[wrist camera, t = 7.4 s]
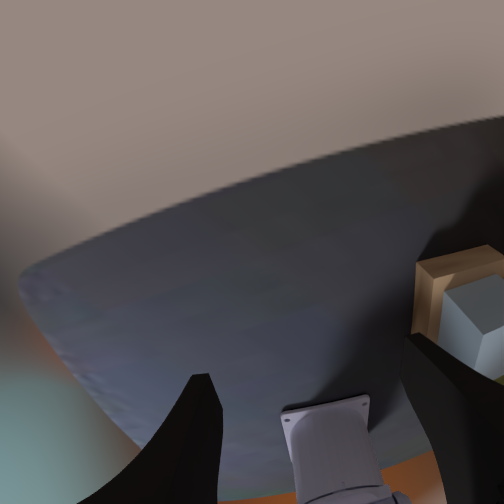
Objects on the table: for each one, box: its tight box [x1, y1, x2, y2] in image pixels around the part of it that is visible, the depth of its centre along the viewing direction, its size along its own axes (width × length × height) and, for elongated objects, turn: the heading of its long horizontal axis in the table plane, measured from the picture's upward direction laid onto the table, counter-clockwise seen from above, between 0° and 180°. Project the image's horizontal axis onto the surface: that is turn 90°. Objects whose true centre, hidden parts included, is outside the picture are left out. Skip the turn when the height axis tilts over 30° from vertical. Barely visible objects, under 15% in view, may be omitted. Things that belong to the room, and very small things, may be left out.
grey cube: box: [437, 274, 504, 380], centre depth 16 cm, size 5×5×5 cm
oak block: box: [411, 245, 504, 344], centre depth 20 cm, size 7×7×3 cm
